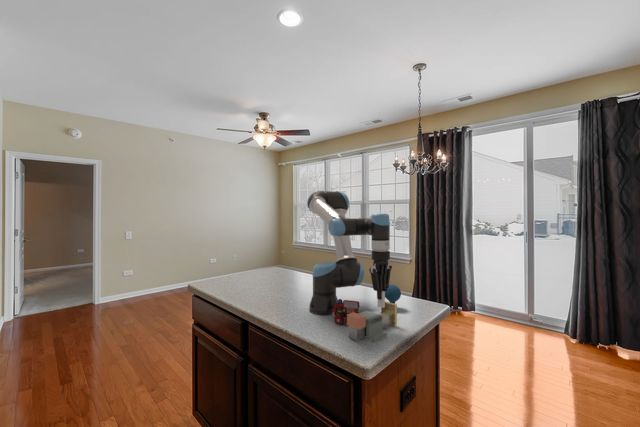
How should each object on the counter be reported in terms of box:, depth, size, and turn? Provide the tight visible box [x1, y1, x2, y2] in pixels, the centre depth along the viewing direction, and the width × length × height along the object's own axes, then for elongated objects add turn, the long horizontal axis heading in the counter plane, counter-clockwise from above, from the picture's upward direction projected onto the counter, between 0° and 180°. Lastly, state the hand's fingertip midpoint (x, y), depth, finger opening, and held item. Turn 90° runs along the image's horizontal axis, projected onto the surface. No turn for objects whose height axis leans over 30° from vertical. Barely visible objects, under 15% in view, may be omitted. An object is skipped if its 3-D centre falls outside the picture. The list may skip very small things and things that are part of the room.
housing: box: [359, 310, 388, 342], centre depth 114 cm, size 8×13×7 cm, turn 41°
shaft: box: [348, 300, 398, 342], centre depth 116 cm, size 24×7×9 cm, turn 131°
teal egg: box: [385, 284, 402, 304], centre depth 144 cm, size 8×8×12 cm
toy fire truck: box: [331, 298, 360, 327], centre depth 125 cm, size 7×12×10 cm, turn 65°
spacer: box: [346, 312, 366, 330], centre depth 109 cm, size 4×6×4 cm, turn 41°
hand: (381, 306), depth 119 cm, fingers closed
